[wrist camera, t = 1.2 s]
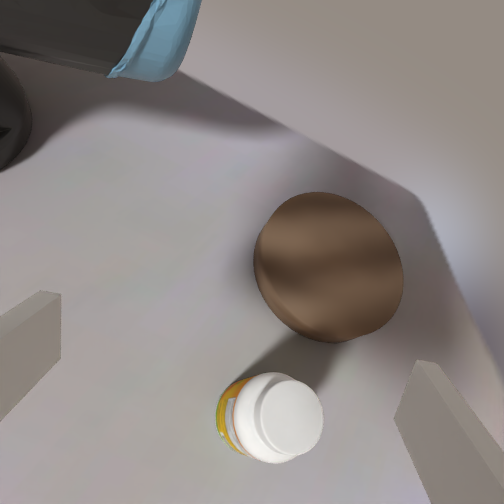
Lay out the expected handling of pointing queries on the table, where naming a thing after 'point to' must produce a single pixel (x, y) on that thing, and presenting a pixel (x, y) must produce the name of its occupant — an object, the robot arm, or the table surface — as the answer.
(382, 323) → the walnut base
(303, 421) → the supplement bottle
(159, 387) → the table surface
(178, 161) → the table surface
